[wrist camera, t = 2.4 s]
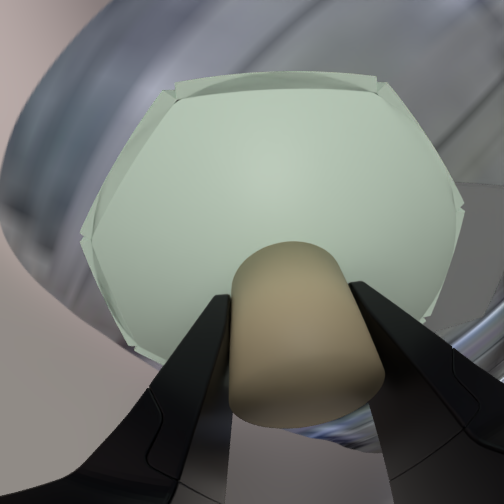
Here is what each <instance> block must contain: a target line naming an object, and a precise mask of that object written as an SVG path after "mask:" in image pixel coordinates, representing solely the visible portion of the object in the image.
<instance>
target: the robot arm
mask: <svg viewBox="0 0 504 504" xmlns="http://www.w3.org/2000/svg"><path fill="white" fill-rule="evenodd" d="M348 286H349V288H350V290H351V292H352V294H353V297H354V299H355V301H356V303H357V306H358V308H359V310H360V312H361V315H362V317H363V319H364V321H365V324H366V326H367V328H368V331H369V333H370V336H371V338H372V340H373V343H374V345H375V348H376V350H377V353H378V355H379V358H380V360H381V363H382V365H383V368H384V371H385V379H384V382H383V385H382V386H381V388H380V390H379V391H378V392H377V393H376V395H375V396H374V397H373V398H371V399H370V400H369V401H368V403H369V406H370V409H371V413H372V416H373V420H374V423H375V427H376V430H377V434H378V438H379V441H380V445H381V449H382V453H383V457H384V461H385V465H386V469H387V473H388V477H389V480H390V481H389V482H390V487H391V491H392V496H393V500H394V504H504V383H502V382H501V381H499V380H498V379H496V378H495V377H493V376H492V375H490V374H489V373H487V372H486V371H484V370H483V369H481V368H480V367H478V366H477V365H476V364H474V363H473V362H472V361H470V360H469V359H468V358H466V357H465V356H464V355H462V354H461V353H460V352H459V351H457V350H456V349H455V348H453V349H452V346H451V345H449V344H448V343H447V342H446V341H444V340H443V339H442V338H440V337H439V336H438V335H436V334H435V333H434V332H432V331H431V330H430V329H428V328H427V327H426V326H424V325H423V324H422V323H420V322H419V321H418V320H416V319H415V318H414V317H412V316H411V315H410V314H408V313H407V312H405V311H404V310H403V309H401V308H400V307H399V306H397V305H396V304H394V303H393V302H392V301H390V300H389V299H388V298H386V297H385V296H383V295H382V294H381V293H379V292H378V291H376V290H375V289H373V288H372V287H371V286H369V285H368V284H366V283H365V282H363V281H354V282H349V283H348ZM230 320H231V297H230V295H229V294H218V295H215V296H213V298H212V299H211V301H210V302H209V303H208V305H207V306H206V307H205V309H204V310H203V312H202V313H201V314H200V316H199V317H198V319H197V320H196V321H195V323H194V324H193V325H192V327H191V328H190V330H189V331H188V332H187V334H186V335H185V337H184V338H183V339H182V341H181V342H180V343H179V345H178V346H177V348H176V349H175V350H174V352H173V353H172V355H171V356H170V357H169V359H168V360H167V362H166V363H165V364H164V366H163V367H162V368H161V370H160V371H159V373H158V374H157V375H156V377H155V378H154V380H153V381H152V382H151V384H150V385H149V388H147V389H146V391H145V392H144V394H143V395H142V396H141V398H140V399H139V400H138V402H137V403H136V404H135V406H134V407H133V408H132V410H131V411H130V412H129V413H128V415H127V416H126V417H125V418H124V419H123V421H122V422H121V423H120V424H119V425H118V426H117V427H116V429H115V430H114V431H113V432H112V433H111V434H110V435H109V436H108V438H106V439H105V441H104V442H103V443H102V444H101V445H100V446H99V447H98V448H97V449H96V450H95V451H94V452H93V454H92V455H91V456H90V457H89V458H88V459H87V460H86V461H85V462H84V463H83V464H82V465H81V466H80V467H79V468H77V469H76V470H75V471H74V472H72V473H70V474H69V475H67V476H65V477H63V478H61V479H58V480H55V481H52V482H49V483H46V484H43V485H40V486H36V487H33V488H29V489H26V490H22V491H18V492H15V493H11V494H6V495H2V496H0V504H225V496H226V495H225V494H226V484H227V472H228V460H229V449H230V438H231V425H232V415H233V412H232V410H231V408H230V406H229V356H230Z"/></svg>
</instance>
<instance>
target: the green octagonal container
mask: <svg viewBox="0 0 504 504" xmlns="http://www.w3.org/2000/svg"><path fill="white" fill-rule="evenodd" d="M463 204H464V201H463V199H462V197H461V195H460V193H459V191H458V189H457V187H456V185H455V183H454V181H453V179H452V177H451V176H450V174H449V172H448V170H447V168H446V167H445V165H444V163H443V161H442V160H441V158H440V156H439V155H438V153H437V151H436V150H435V148H434V146H433V145H432V143H431V142H430V140H429V139H428V137H427V136H426V134H425V132H424V131H423V130H422V128H421V127H420V125H419V124H418V122H417V121H416V119H415V118H414V117H413V115H412V114H411V112H410V111H409V110H408V108H407V107H406V106H405V104H404V103H403V102H402V100H401V99H400V98H399V97H398V95H397V94H396V93H395V91H394V90H393V89H392V88H391V87H390V85H389V84H388V83H387V82H377V76H368V75H359V74H348V73H335V72H311V71H281V72H257V73H243V74H232V75H222V76H214V77H207V78H200V79H193V80H187V81H181V82H176V83H175V90H162V92H161V93H160V94H159V96H158V97H157V98H156V100H155V101H154V103H153V104H152V105H151V107H150V108H149V110H148V111H147V113H146V114H145V115H144V117H143V118H142V120H141V121H140V123H139V124H138V126H137V127H136V129H135V130H134V132H133V134H132V135H131V137H130V138H129V140H128V141H127V143H126V145H125V146H124V148H123V150H122V151H121V153H120V155H119V156H118V158H117V160H116V162H115V163H114V165H113V167H112V169H111V170H110V172H109V174H108V176H107V178H106V179H105V181H104V183H103V185H102V187H101V189H100V191H99V193H98V195H97V197H96V199H95V201H94V203H93V205H92V207H91V209H90V211H89V213H88V215H87V217H86V220H85V222H84V224H83V226H82V228H81V231H80V233H81V234H82V235H83V236H84V237H83V238H82V240H81V241H80V244H81V246H82V249H83V252H84V254H85V257H86V259H87V261H88V264H89V266H90V269H91V271H92V273H93V276H94V278H95V280H96V282H97V285H98V287H99V289H100V291H101V293H102V295H103V298H104V300H105V302H106V304H107V306H108V308H109V310H110V312H111V314H112V316H113V318H114V320H115V322H116V323H117V325H118V327H119V329H120V331H121V333H122V335H123V336H124V338H125V340H126V342H127V344H128V345H129V346H135V349H134V351H136V352H138V353H140V354H142V355H144V356H146V357H148V358H150V359H152V360H154V361H156V362H158V363H160V364H162V365H164V364H165V363H166V362H167V360H168V359H169V357H170V356H171V355H172V353H173V352H174V350H175V349H176V348H177V346H178V345H179V343H180V342H181V341H182V339H183V338H184V337H185V335H186V334H187V332H188V331H189V330H190V328H191V327H192V325H193V324H194V323H195V321H196V320H197V319H198V317H199V316H200V314H201V313H202V312H203V310H204V309H205V307H206V306H207V305H208V303H209V302H210V301H211V299H212V298H213V296H215V295H218V294H229V295H230V297H231V320H230V356H229V406H230V408H231V410H232V412H233V413H234V414H235V415H236V416H238V417H239V418H240V419H242V420H244V421H246V422H248V423H251V424H254V425H258V426H262V427H269V428H301V427H308V426H314V425H318V424H322V423H326V422H329V421H332V420H335V419H338V418H340V417H343V416H345V415H347V414H349V413H351V412H353V411H355V410H356V409H358V408H360V407H361V406H363V405H364V404H365V403H367V402H368V401H369V400H370V399H371V398H373V397H374V396H375V395H376V393H377V392H378V391H379V390H380V388H381V386H382V385H383V382H384V379H385V371H384V368H383V365H382V363H381V360H380V358H379V355H378V353H377V350H376V348H375V345H374V343H373V340H372V338H371V336H370V333H369V331H368V328H367V326H366V324H365V321H364V319H363V317H362V315H361V312H360V310H359V308H358V306H357V303H356V301H355V299H354V297H353V294H352V292H351V290H350V288H349V286H348V283H349V282H354V281H363V282H365V283H366V284H368V285H369V286H371V287H372V288H373V289H375V290H376V291H378V292H379V293H381V294H382V295H383V296H385V297H386V298H388V299H389V300H390V301H392V302H393V303H394V304H396V305H397V306H399V307H400V308H401V309H403V310H404V311H405V312H407V313H408V314H410V315H411V316H412V317H414V318H415V319H416V320H418V321H419V322H420V323H422V324H423V323H425V322H426V320H425V318H424V317H427V316H431V314H432V311H433V309H434V306H435V304H436V301H437V299H438V296H439V294H440V291H441V289H442V286H443V283H444V281H445V278H446V275H447V272H448V269H449V266H450V263H451V260H452V257H453V254H454V251H455V247H456V244H457V240H458V237H459V233H460V229H461V226H462V222H463V218H464V213H465V211H464V210H463V209H462V208H460V207H461V206H462V205H463Z"/></svg>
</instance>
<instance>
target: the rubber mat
mask: <svg viewBox="0 0 504 504" xmlns="http://www.w3.org/2000/svg"><path fill="white" fill-rule="evenodd" d="M454 183H455V185H456V187H457V189H458V191H459V193H460V195H461V197H462V199H463V201H464V204H463V205H462V206H461V207H460V208H462V209H463V210H464V211H465V213H464V218H463V222H462V226H461V229H460V233H459V237H458V240H457V244H456V247H455V251H454V254H453V257H452V260H451V263H450V266H449V269H448V272H447V275H446V278H445V281H444V283H443V286H442V289H441V291H440V294H439V296H438V299H437V301H436V304H435V306H434V309H433V311H432V314H431V316H427V317H424V318H425V320H426V322H425V323H423V325H424V326H426V327H427V328H428V329H430V330H431V331H432V332H435V331H438V330H442V329H446V328H449V327H452V326H456V325H459V324H462V323H465V322H469V321H472V320H475V319H478V318H481V317H483V315H484V313H485V312H486V310H487V308H488V306H489V304H490V302H491V300H492V298H493V295H494V293H495V291H496V289H497V287H498V285H499V282H500V280H501V278H502V275H503V273H504V186H500V185H488V184H474V183H458V182H454Z"/></svg>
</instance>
